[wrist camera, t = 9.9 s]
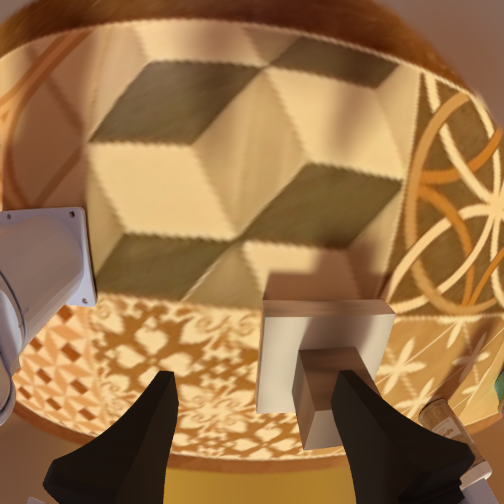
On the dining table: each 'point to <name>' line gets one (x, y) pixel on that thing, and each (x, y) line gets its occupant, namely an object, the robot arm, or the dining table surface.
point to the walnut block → (322, 392)
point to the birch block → (314, 340)
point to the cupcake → (500, 392)
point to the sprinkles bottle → (454, 437)
